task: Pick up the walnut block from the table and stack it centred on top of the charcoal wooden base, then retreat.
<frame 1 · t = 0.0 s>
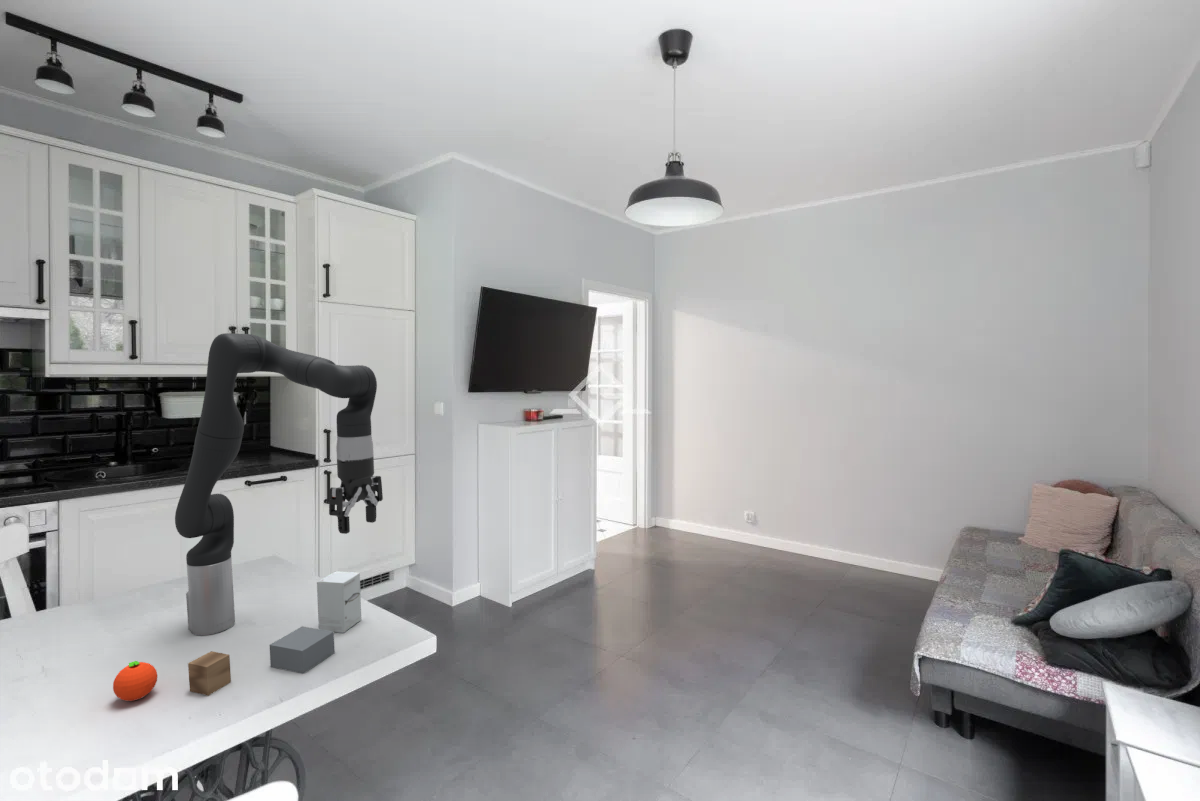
hand: (358, 527, 129), 29 cm above the table, fingers open, 8 cm apart
walnut block: (210, 687, 119), on the table
base: (303, 659, 129), on the table
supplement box: (340, 626, 146), on the table
clementine: (136, 697, 115), on the table
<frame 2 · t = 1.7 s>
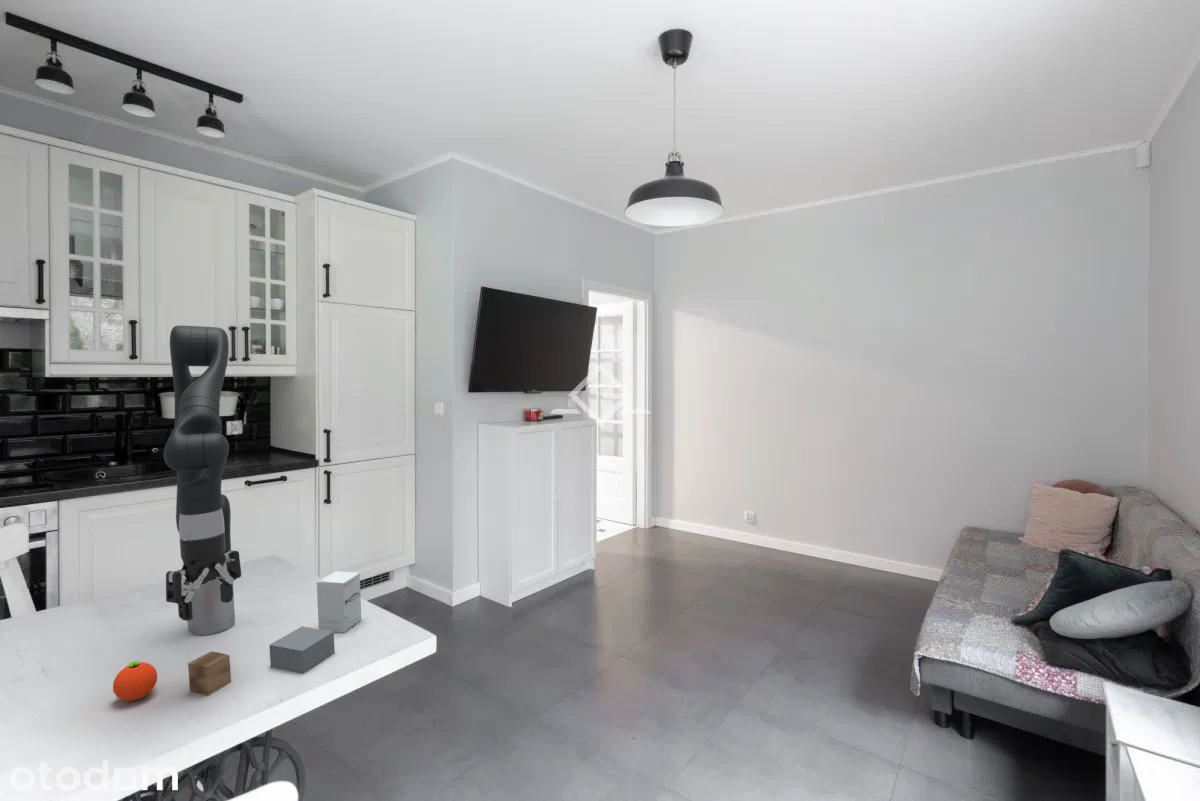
hand: (207, 610, 118), 16 cm above the table, fingers open, 8 cm apart
nothing on the table moved.
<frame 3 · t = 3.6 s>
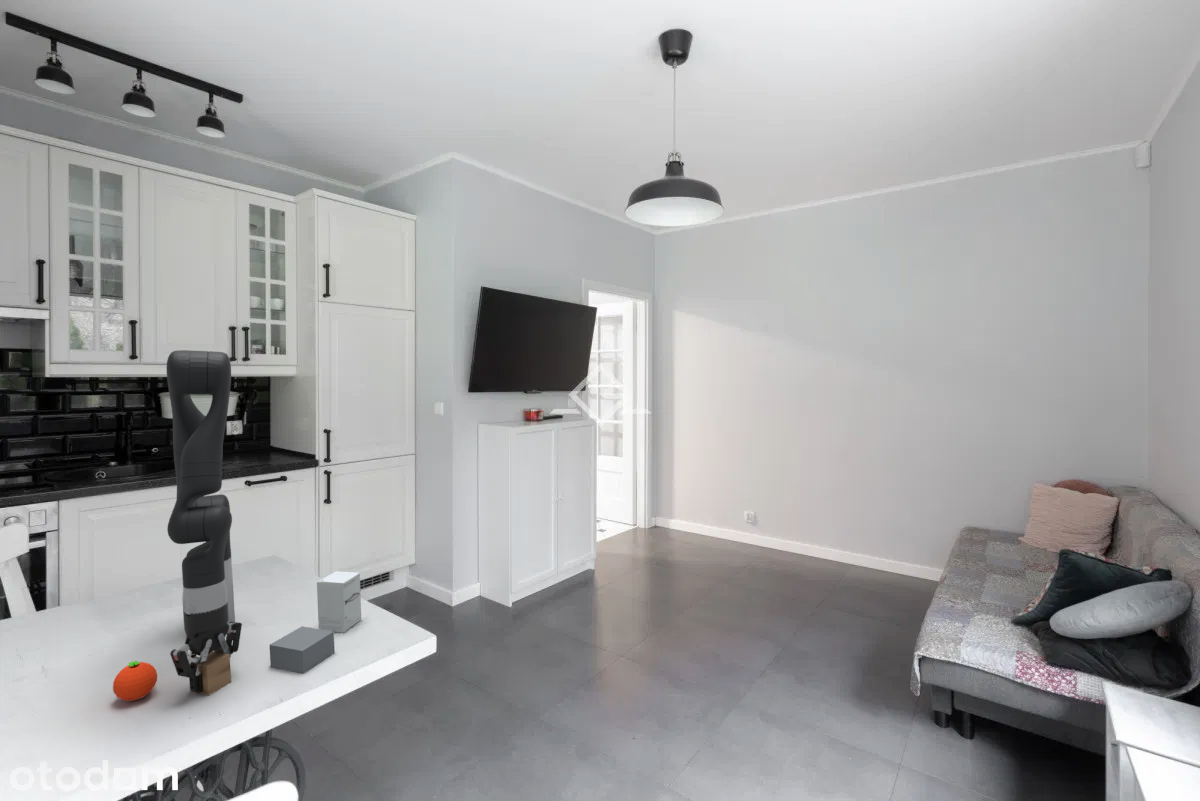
hand: (210, 683, 119), 1 cm above the table, fingers closed on walnut block, 5 cm apart
walnut block: (210, 686, 119), on the table, touching gripper
everything else where it was.
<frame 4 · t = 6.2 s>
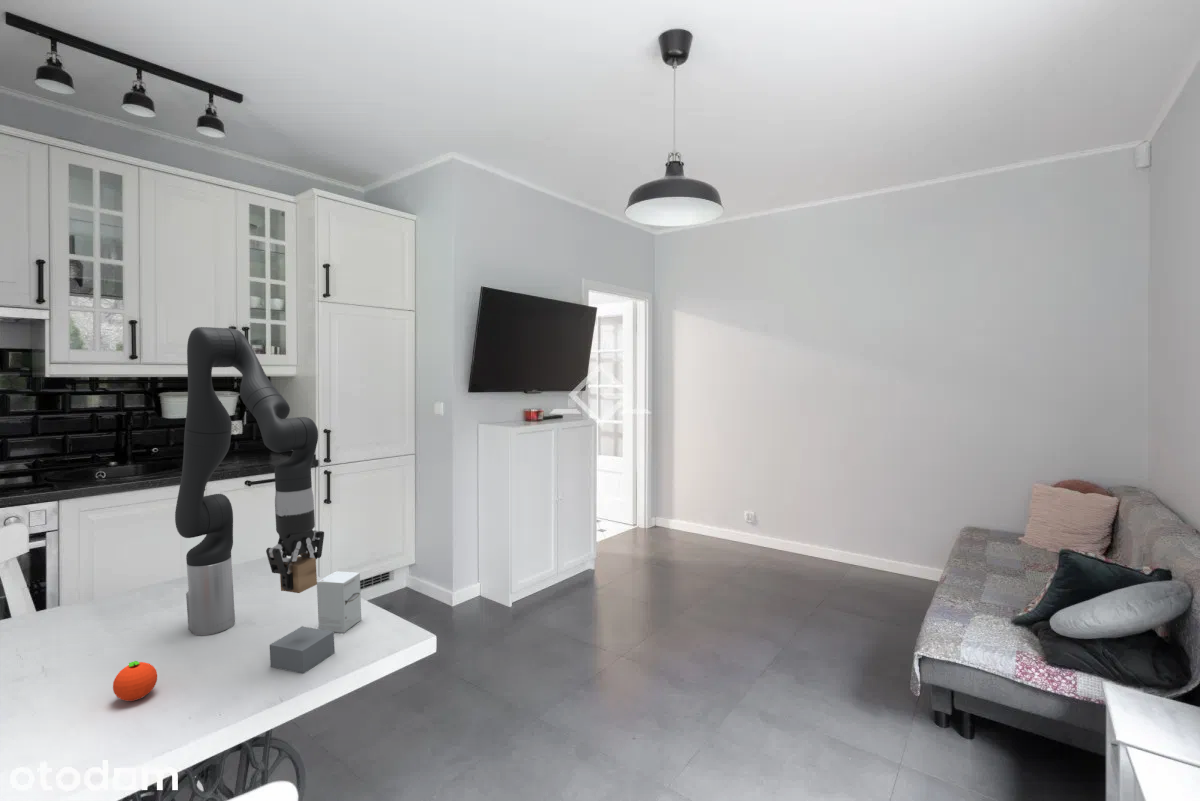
hand: (298, 584, 128), 17 cm above the table, fingers closed on walnut block, 5 cm apart
walnut block: (299, 587, 128), point 17 cm above the table, touching gripper
everything else where it was.
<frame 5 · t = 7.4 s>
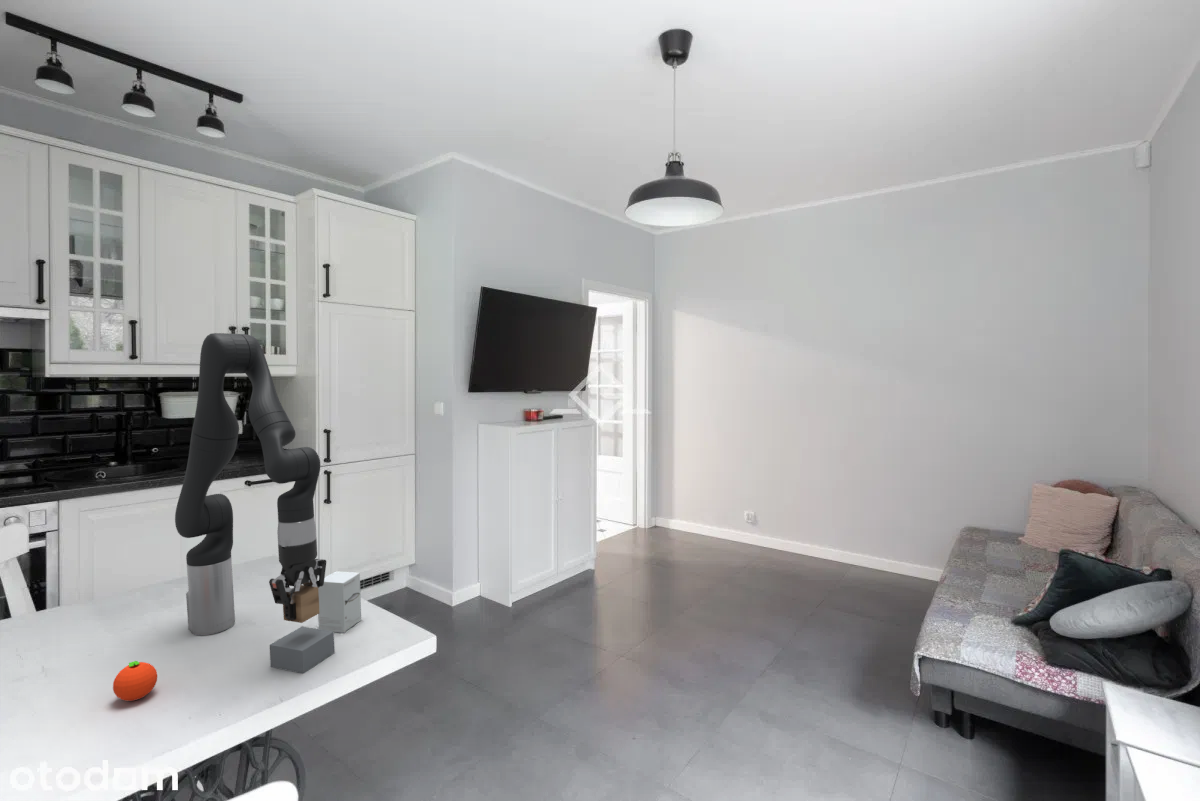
hand: (301, 613, 128), 11 cm above the table, fingers closed on walnut block, 5 cm apart
walnut block: (301, 616, 128), point 10 cm above the table, touching gripper
everything else where it was.
when the fingers open (7 cm above the table, at t = 8.6 s): walnut block drops 1 cm, resting on base.
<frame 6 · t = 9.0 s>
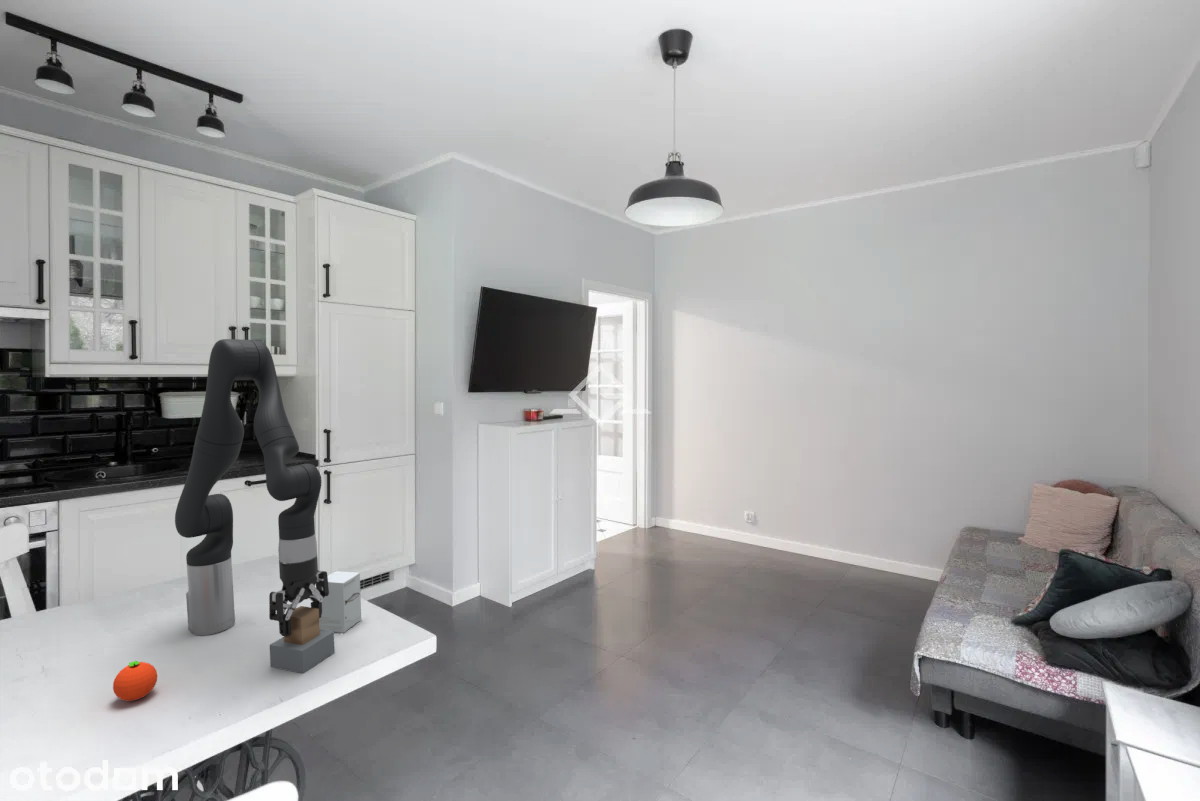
hand: (301, 626, 128), 8 cm above the table, fingers open, 8 cm apart
walnut block: (302, 638, 129), point 5 cm above the table, touching base
everything else where it was.
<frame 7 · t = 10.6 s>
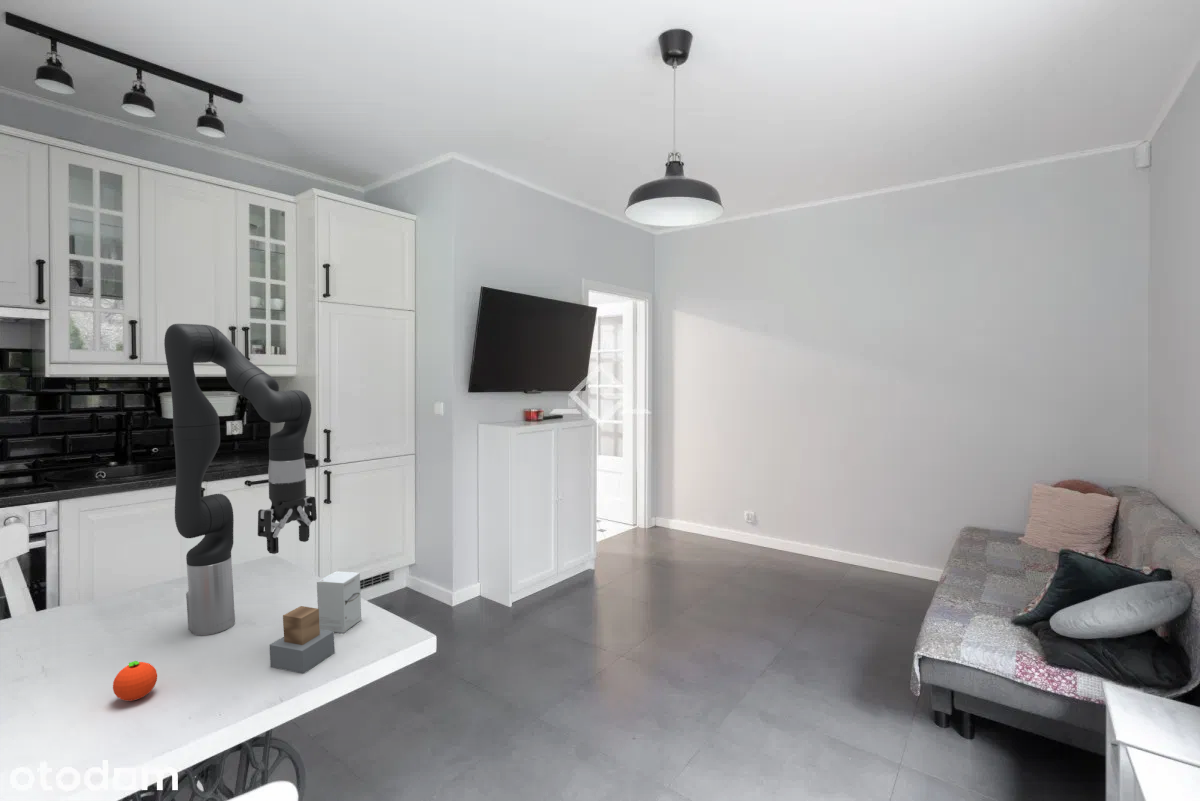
hand: (289, 546, 133), 24 cm above the table, fingers open, 8 cm apart
nothing on the table moved.
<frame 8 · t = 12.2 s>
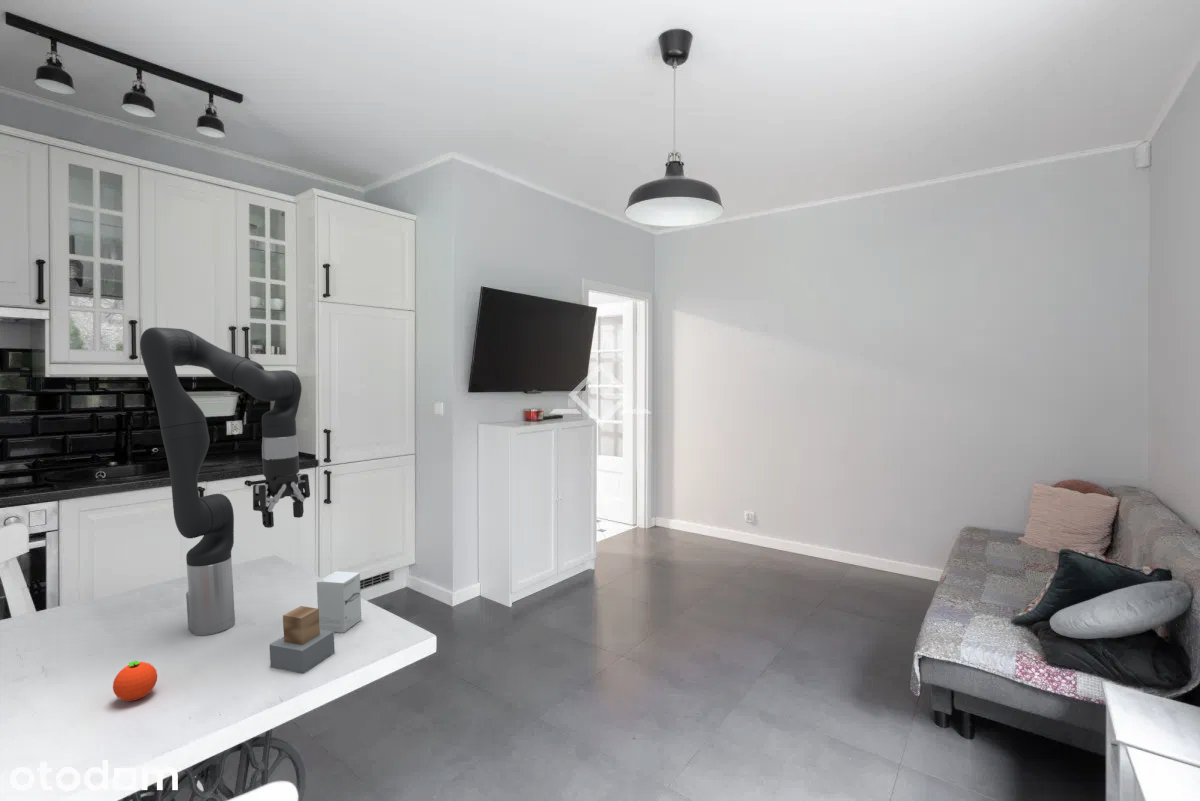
hand: (283, 522, 138), 28 cm above the table, fingers open, 8 cm apart
nothing on the table moved.
at the end: walnut block 0.0 cm off-centre on the base, point 5.0 cm above the base's base; walnut block tilted 0°; the gripper is holding nothing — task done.
